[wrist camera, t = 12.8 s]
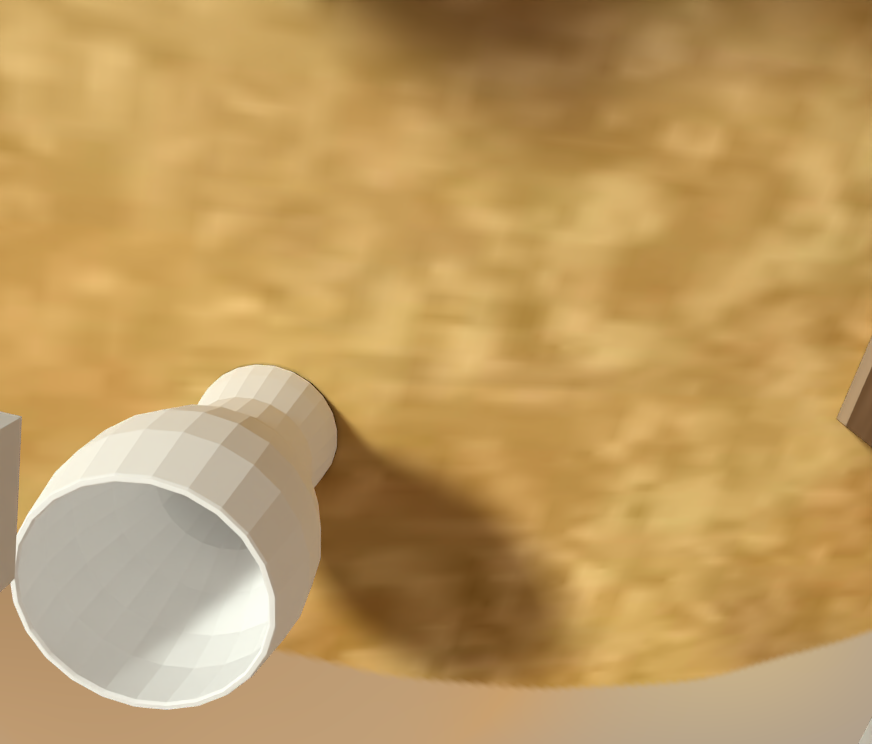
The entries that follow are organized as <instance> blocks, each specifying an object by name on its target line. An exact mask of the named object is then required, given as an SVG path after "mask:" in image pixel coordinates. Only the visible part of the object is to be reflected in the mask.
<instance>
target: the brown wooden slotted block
mask: <svg viewBox="0 0 872 744" xmlns="http://www.w3.org/2000/svg"><path fill="white" fill-rule="evenodd" d="M837 419H838V420H839V421H840V422H841V423H843V424H844V425H845V426H846V427H848V428H849V429H850V430H851V431H852V432H854V433H855V434H856V435H857V436H859V437H860V438H861V439H862V440H864V441H865V442H866V443H867V444H869V445H870V446H871V447H872V338H871V340H870V342H869V345H868V347H867V349H866V352H865V354H864V356H863V359H862V361H861V363H860V366H859V368H858V370H857V373H856V375H855V377H854V380H853V382H852V384H851V386H850V389H849V391H848V393H847V396H846V398H845V400H844V403H843V405H842V407H841V410H840V412H839V414H838V417H837Z"/></svg>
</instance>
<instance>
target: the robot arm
mask: <svg viewBox="0 0 872 744" xmlns="http://www.w3.org/2000/svg"><path fill="white" fill-rule="evenodd" d="M21 421H22V417H21V416H17V415H13V414H8V413H4V412H0V592H1V591H2V590H3V589H4V588H5V587H6V586H7V585H8V584H10V583H11V582H12V581H13V580H14V579H15V558H16V535H17V512H18V490H19V467H20V444H21ZM858 744H872V718H871V720H870V722H869V724H868V726H867V727H866V729H865V732H864V733H863V735H862V737H861V739H860V741H859V743H858Z"/></svg>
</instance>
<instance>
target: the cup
mask: <svg viewBox="0 0 872 744" xmlns="http://www.w3.org/2000/svg"><path fill="white" fill-rule="evenodd" d="M336 448H337V428H336V424H335V420H334V416H333V413H332V411H331V409H330V407H329V406H328V404H327V402H326V400H325V399H324V397H323V396H322V395H321V394H320V393H319V392H318V391H317V389H316V388H315V387H314V386H313V385H312V384H311V383H310V382H308V381H307V380H305V379H303V378H302V377H300V376H299V375H297V374H295V373H294V372H291V371H288V370H285V369H282V368H279V367H276V366H268V365H251V366H245V367H240V368H236V369H234V370H232V371H230V372H228V373H226V374H224V375H222V376H221V377H220V378H218V379H217V380H216V381H215V382H214V383H213V384H212V385H211V386H210V387H209V388H208V389H207V391H206V392H205V393H204V395H203V396H202V398H201V400H200V401H199V403H198V405H194V404H192V405H187V406H181V407H175V408H170V409H164V410H159V411H154V412H149V413H144V414H139V415H134V416H132V417H130V418H128V419H126V420H124V421H122V422H120V423H118V424H116V425H114V426H112V427H110V428H108V429H106V430H105V431H103V432H102V433H101V434H99V435H98V436H97V437H95V438H94V439H93V440H91V441H90V442H89V443H87V444H86V445H85V446H83V447H82V448H81V449H79V450H78V451H77V452H76V453H75V454H74V455H73V456H72V457H71V458H70V459H69V460H68V461H66V462H65V463H64V464H63V465H62V466H61V467H60V468H59V469H58V470H57V471H56V472H55V473H54V475H53V476H52V478H51V479H50V481H49V482H48V484H47V485H46V487H45V489H44V490H43V492H42V493H41V495H40V496H39V498H38V499H37V501H36V502H35V504H34V505H33V507H32V509H31V510H30V512H29V513H28V515H27V517H26V519H25V521H24V522H23V524H22V526H21V528H20V530H19V532H18V534H17V536H16V558H15V579H14V580H13V581H12V582H11V589H12V596H13V602H14V605H15V607H16V609H17V612H18V614H19V616H20V619H21V621H22V623H23V625H24V628H25V630H26V632H27V633H28V635H29V636H30V637H31V638H32V640H33V641H34V642H35V644H36V645H37V646H38V648H39V649H40V650H41V652H42V653H43V654H44V655H45V657H46V658H47V659H48V660H49V661H51V662H52V663H53V664H54V665H55V666H56V667H58V668H59V669H60V670H61V671H62V672H63V673H65V674H66V675H67V676H68V677H69V678H71V679H72V680H73V681H75V682H77V683H79V684H81V685H83V686H84V687H86V688H88V689H90V690H92V691H93V692H95V693H97V694H99V695H101V696H103V697H106V698H109V699H112V700H115V701H119V702H122V703H125V704H128V705H132V706H135V707H146V708H155V709H166V710H168V709H176V708H185V707H192V706H199V705H202V704H204V703H207V702H210V701H212V700H215V699H217V698H220V697H223V696H225V695H228V694H229V693H230V692H232V691H233V690H235V689H236V688H237V687H239V686H240V685H241V684H243V683H244V682H245V681H247V680H248V679H249V678H250V677H252V676H253V675H254V673H255V672H256V671H257V670H258V669H259V668H260V667H261V665H262V664H263V663H264V662H265V661H266V660H267V658H268V657H269V656H270V655H271V654H272V653H273V651H274V650H275V649H276V648H277V647H278V645H279V644H280V643H281V642H282V641H283V639H284V638H285V637H286V635H287V634H288V632H289V631H290V630H291V628H292V627H293V625H294V624H295V623H296V621H297V620H298V619H299V617H300V615H301V613H302V610H303V607H304V605H305V602H306V600H307V597H308V594H309V592H310V589H311V587H312V584H313V580H314V577H315V574H316V571H317V568H318V565H319V562H320V559H321V524H320V514H319V505H318V500H317V497H316V493H315V490H314V487H315V486H316V485H317V484H318V482H319V481H320V480H321V479H322V477H323V476H324V474H325V473H326V471H327V470H328V468H329V467H330V465H331V464H332V461H333V458H334V455H335V452H336Z"/></svg>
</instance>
